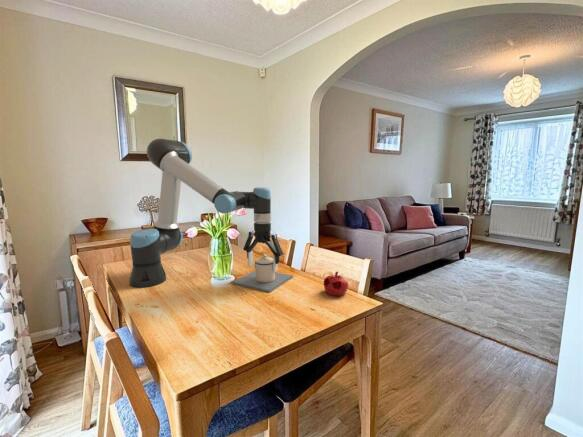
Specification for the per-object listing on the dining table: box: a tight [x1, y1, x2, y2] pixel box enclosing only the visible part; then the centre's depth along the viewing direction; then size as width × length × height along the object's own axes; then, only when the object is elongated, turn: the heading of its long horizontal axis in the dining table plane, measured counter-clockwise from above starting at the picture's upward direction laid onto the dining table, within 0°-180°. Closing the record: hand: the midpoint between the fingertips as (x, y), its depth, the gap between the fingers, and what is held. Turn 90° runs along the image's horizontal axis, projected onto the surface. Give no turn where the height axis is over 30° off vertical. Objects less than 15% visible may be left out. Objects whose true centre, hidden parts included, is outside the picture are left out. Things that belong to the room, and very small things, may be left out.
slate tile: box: [232, 269, 294, 293], centre depth 136 cm, size 20×20×1 cm
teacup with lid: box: [253, 253, 276, 283], centre depth 134 cm, size 12×9×12 cm
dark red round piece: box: [323, 271, 349, 297], centre depth 121 cm, size 10×10×9 cm
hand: (262, 267), depth 135 cm, fingers open, 13 cm apart
